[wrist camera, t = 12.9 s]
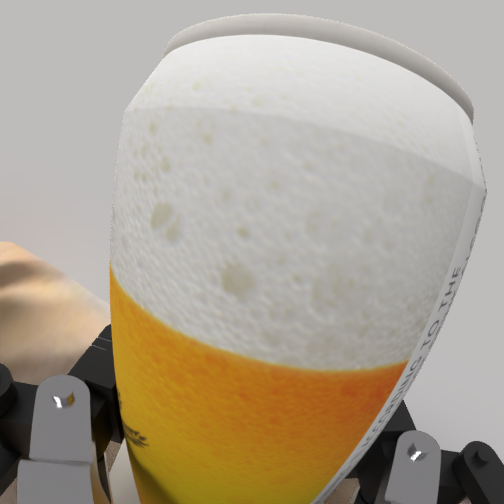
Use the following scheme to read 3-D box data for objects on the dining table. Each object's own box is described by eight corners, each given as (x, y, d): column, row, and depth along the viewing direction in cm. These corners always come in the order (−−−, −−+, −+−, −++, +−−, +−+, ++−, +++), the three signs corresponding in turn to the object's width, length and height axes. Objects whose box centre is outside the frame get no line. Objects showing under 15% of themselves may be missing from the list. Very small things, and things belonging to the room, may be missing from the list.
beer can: (201, 440, 13) (257, 104, 8) (306, 498, 11) (466, 150, 6) (115, 509, 8) (70, 47, 3) (237, 591, 5) (568, 51, 1)
